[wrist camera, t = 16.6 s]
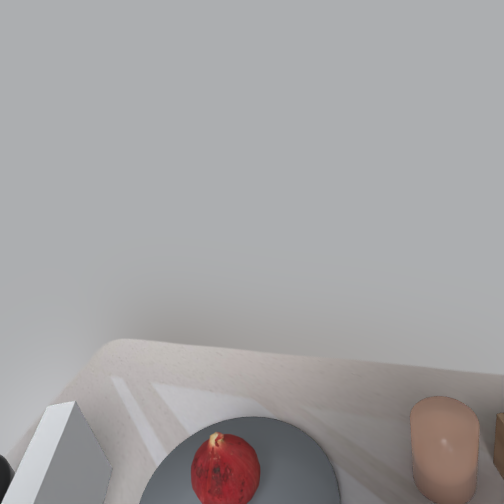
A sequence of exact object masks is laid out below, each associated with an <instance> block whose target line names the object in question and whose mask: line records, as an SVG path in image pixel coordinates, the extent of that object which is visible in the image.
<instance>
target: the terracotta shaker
mask: <svg viewBox="0 0 504 504" xmlns="http://www.w3.org/2000/svg"><path fill="white" fill-rule="evenodd" d="M410 426H411V444H412V463H413V478H414V481H415V484H416V486H417V488H418V489H419V491H420V492H421V493H422V494H423V495H424V496H425V497H427V498H428V499H429V500H431V501H433V502H435V503H437V504H465V503H467V502H468V501H470V500H471V499H472V498H473V496H474V494H475V492H476V489H477V472H478V451H479V429H480V426H479V420H478V418H477V416H476V414H475V413H474V412H473V411H472V410H471V408H469V407H468V406H467V405H465V404H464V403H462V402H460V401H458V400H456V399H453V398H449V397H443V396H434V397H429V398H425V399H423V400H421V401H419V402H418V403H417V404H416V405H415V406H414V407H413V408H412V410H411V413H410Z"/></svg>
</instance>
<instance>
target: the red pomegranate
mask: <svg viewBox="0 0 504 504" xmlns="http://www.w3.org/2000/svg"><path fill="white" fill-rule="evenodd" d="M260 474H261V472H260V464H259V461H258V457H257V454H256V452H255V450H254V448H253V447H252V446H251V445H250V444H249V443H248V442H246V441H245V440H244V439H243V438H241V437H238V436H235V435H232V434H222V433H220V432H215V433H214V434H212V435H210V438H209V439H208V440H206V441H205V442H203V443H202V445H201V446H200V447H199V449H198V450H197V451H196V453H195V456H194V459H193V462H192V465H191V483H192V488H193V490H194V492H195V494H196V495H197V497H198V499H199V500H200V502H201V503H202V504H247V503H248V502H249V501H250V500H251V499H252V497H253V496H254V494H255V492H256V490H257V488H258V486H259V481H260Z"/></svg>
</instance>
